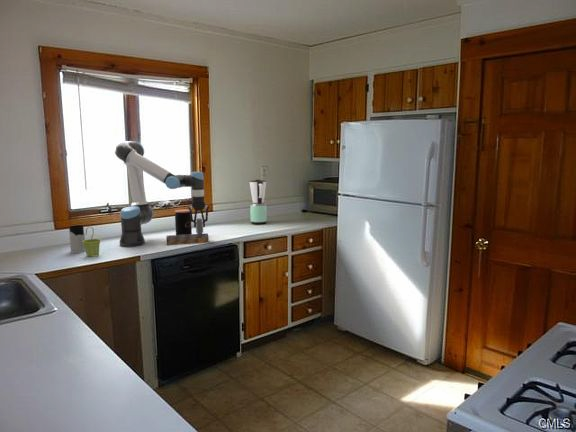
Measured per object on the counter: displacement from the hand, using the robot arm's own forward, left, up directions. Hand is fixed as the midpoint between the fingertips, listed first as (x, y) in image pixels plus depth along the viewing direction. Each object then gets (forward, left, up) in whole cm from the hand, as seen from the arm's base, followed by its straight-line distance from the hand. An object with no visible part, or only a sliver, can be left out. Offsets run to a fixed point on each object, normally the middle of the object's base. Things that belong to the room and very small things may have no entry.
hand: (199, 232), depth 282 cm
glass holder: (-69, -7, -6) cm, 69 cm away
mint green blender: (+49, +56, -6) cm, 75 cm away
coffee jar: (-10, +20, -6) cm, 24 cm away
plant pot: (-61, -22, -6) cm, 65 cm away
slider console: (-8, 0, -6) cm, 10 cm away
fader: (0, 0, -3) cm, 3 cm away
